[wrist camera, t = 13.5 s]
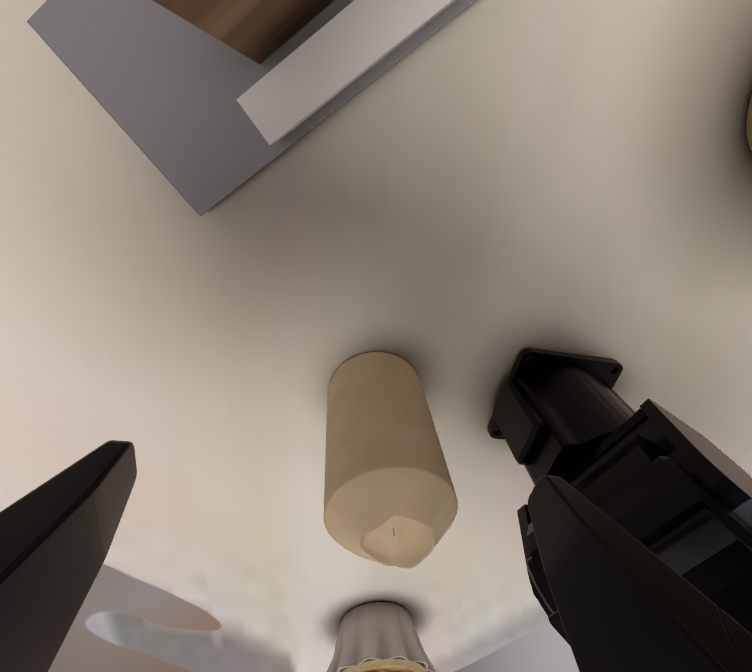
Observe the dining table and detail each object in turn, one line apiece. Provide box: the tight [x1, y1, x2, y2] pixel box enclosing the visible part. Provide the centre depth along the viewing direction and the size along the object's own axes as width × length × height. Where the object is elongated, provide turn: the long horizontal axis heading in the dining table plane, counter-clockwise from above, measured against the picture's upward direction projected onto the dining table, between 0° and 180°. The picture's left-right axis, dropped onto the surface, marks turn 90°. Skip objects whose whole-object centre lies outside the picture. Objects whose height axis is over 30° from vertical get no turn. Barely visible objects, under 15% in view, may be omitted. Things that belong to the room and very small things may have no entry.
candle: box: [324, 352, 458, 568], centre depth 20 cm, size 6×6×10 cm
